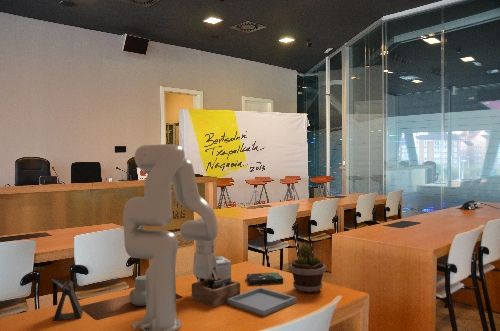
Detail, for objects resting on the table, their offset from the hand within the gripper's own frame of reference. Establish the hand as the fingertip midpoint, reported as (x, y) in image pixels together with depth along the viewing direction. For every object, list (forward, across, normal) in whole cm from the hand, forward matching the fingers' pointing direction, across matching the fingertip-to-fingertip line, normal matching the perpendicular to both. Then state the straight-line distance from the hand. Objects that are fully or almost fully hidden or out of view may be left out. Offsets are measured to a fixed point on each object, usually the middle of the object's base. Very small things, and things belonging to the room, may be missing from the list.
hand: (205, 294), depth 163 cm
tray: (0, +23, +8) cm, 24 cm away
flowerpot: (+1, +27, +32) cm, 42 cm away
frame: (0, +6, 0) cm, 6 cm away
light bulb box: (+1, -7, +14) cm, 16 cm away
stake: (0, +10, 0) cm, 10 cm away
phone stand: (+1, -19, -47) cm, 51 cm away
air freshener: (+1, -11, -22) cm, 25 cm away
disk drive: (+1, +5, +30) cm, 30 cm away
